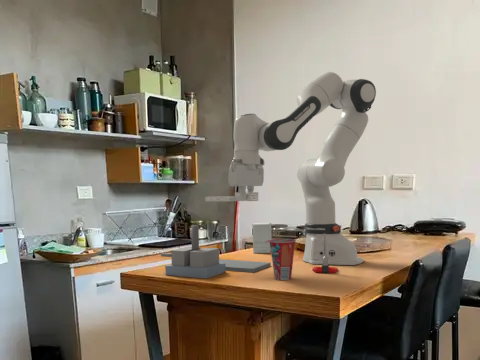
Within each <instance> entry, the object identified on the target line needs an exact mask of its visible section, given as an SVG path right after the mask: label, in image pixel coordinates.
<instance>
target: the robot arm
mask: <svg viewBox="0 0 480 360" xmlns="http://www.w3.org/2000/svg"><path fill="white" fill-rule="evenodd" d="M376 94H377V90H376V86H375V84H374V83H373V82H372V81H371V80H369V79H366V78H359V79H348V80H347V79H346V80H344V81H343V80H342V77H340V75H339V74H338V73H335V72H332V71H331V72H330V71H328V72H325V73H323V74H322V75H320V76H318V77H316V78H315V79H314V80H312V81H311V82H310V83H309V84H307V85H306V86H304V88H302V90H301V91H300V93H298V95H297V98H296V103H297V107H296V108H295V109H294V110H293V111H292V112H291V113H289V114H288V115H287V117H285V118H282V119H277V120H275V121H272V122H270V123H269V122H266V121H264V120H263V119H261V118H260V117H258V114H255V113H245V114H241V115H239V116H237V117H236V118H235V120H234V124H233V143H234V149H233V160H232V161H231V163H230V166H229V169H228V181H227V182H228V185H229V187H238V191H239V192H240V194H241V199H242V200H245V199H247V194H246V192H255V191H254V190H255V187H262V186H263V183H264V178H265V173H264V170H265V169H264V167H263V166H265V159H264V158H262V157H261V155H260V151H263V152H274V151H284V150H287V149H289V148H290V147H291V146H292V145H293V143H294V141H295V139H296V137H297V135H298V133H299V131H301V130H302V128H303V127H305V125H307V124H308V123H309V122H310V121H312V119H313V118H314V117H315V116H317V115H319V114H320V113H322V112H324V111H326V109H327V108H328V107H329V106H330V107H331V108H333V109H336V110H341V113H340V117H339V119H338V120H337V121H336V123H335V124H334V125H333V126H332V128H331V130H330V131H329V133H327V136H325V139H324V140H323V147H322V149H321V152H320V153H319V155H318V156H317V157H316V158H313V159H307V160H306V161H304V162H302V163H300V165H299V166H298V168H297V172H296V176H297V179H298V181H299V182H300V184H301V189H302V192H303V197H304V203H305V224H304V235H305V236H304V237H305V243H304V244H305V246H304V253H303V257H302V261H303V262H305V263H309V264H312V265H323V240H324V234H326V240H327V257H328V265H337V266H340V265H341V266H354V265H360V264H362V263H363V262H364V258H363V257H360V256H358V252H357V251H358V250H357V247H356V245H355V244H354V242H352V241H351V240H350V239H348V238H347V237H346V236H344V235H343V234H342V233H341V231H342V225H340V224H338V223H336V203H335V200H334V199H333V197H332V195H331V192H330V187H333V186H335V185H338V184H339V183H341V182H342V181H343V179H344V177H345V173H346V172H345V171H346V170H345V167H346V164H347V161H348V159H349V156H350V155H351V153H352V151H353V150H354V148H355V147H356V146H357V143H358V142H359V140H360V139H361V138H362V136H363V134H364V132H365V131H366V127H367V125H368V123H369V116H368V114H367V112H369V110H371V108H372V105H373V103H374V101H375V98H376V97H377V95H376ZM246 190H247V191H246Z"/></svg>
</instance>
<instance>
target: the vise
mask: <svg viewBox="0 0 480 360" xmlns="http://www.w3.org/2000/svg"><path fill="white" fill-rule="evenodd" d="M190 227H191V246H187V247H181V248H177V249H172V250H171V253H169V252H168V253H167V252H161V253H160V257H163V258H164V257H165V258H171V264H166V265H165V270H164V271H165V275H166V276H176V277H185V278H186V277H187V278H198V279H208V278H209V279H210V278H212V277H215V276H218V275H221V274H224V273H226V270H225V263H219V259H220V248H215V247H214V248H213V247H204V248H201V246H200V233H199V232H200V231H199V225H196V224H193V225H191V226H190Z"/></svg>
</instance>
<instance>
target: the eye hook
mask: <svg viewBox="0 0 480 360" xmlns="http://www.w3.org/2000/svg"><path fill="white" fill-rule="evenodd" d="M246 194H247V199H245V200H242V199H241V194H240V191H239V192H238V191H237V192H236V191H235V192H234V195H232V196H230V195H229V196H228V195H226V196H225V195H224V196H223V195H220V196H219V195H218V196H217V195H216V196H205V197H204V199H205V200H204V201H205V202H258V201H259V192H255V191H253V192H247V191H246Z"/></svg>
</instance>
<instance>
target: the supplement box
mask: <svg viewBox="0 0 480 360" xmlns="http://www.w3.org/2000/svg"><path fill="white" fill-rule="evenodd" d="M251 226H252V245H253V246H252V249H253V250H252V251H253V254H271V248H270V242H265V241H267V240H270V239H273V238H272V237H273V236H272V222H254V223H253V224H252V225H251Z"/></svg>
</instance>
